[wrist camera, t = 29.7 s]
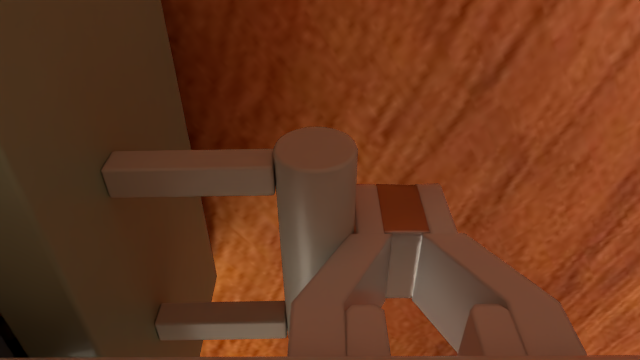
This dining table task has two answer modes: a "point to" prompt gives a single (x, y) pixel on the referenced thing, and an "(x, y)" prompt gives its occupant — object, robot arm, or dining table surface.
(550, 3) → the dining table surface
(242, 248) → the dining table surface
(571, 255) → the dining table surface
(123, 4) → the drawer
